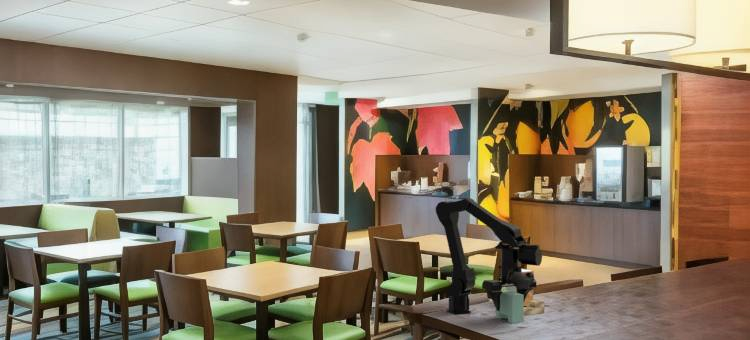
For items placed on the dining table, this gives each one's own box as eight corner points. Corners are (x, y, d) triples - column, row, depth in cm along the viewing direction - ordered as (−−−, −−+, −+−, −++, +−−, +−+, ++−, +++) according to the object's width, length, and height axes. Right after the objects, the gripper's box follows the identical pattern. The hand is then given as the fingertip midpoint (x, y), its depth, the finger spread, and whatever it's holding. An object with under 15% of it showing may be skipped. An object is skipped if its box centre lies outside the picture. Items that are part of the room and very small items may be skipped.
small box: (518, 308, 236) (518, 272, 236) (505, 305, 241) (505, 270, 241) (533, 305, 240) (534, 270, 240) (521, 302, 246) (521, 268, 246)
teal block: (512, 323, 213) (512, 295, 213) (495, 317, 221) (495, 291, 221) (523, 322, 215) (523, 294, 215) (506, 316, 223) (506, 290, 223)
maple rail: (512, 316, 223) (512, 304, 223) (506, 314, 225) (506, 303, 225) (544, 312, 229) (544, 301, 229) (538, 311, 231) (538, 299, 231)
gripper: (502, 268, 206) (501, 317, 206) (547, 264, 215) (547, 311, 215) (481, 263, 216) (481, 310, 216) (525, 260, 224) (525, 305, 225)
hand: (509, 309), depth 218 cm, fingers open, 9 cm apart
